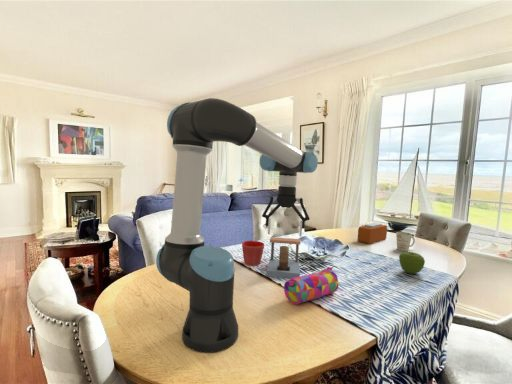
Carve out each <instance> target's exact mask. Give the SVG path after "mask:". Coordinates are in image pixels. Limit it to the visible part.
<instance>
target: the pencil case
mask: <svg viewBox="0 0 512 384" xmlns="http://www.w3.org/2000/svg"><path fill="white" fill-rule="evenodd" d="M332 270H333V267H331V266H330V267H329V266H327V267H326V268H324V269H321V270H319V271H317V272H315V273H310V274H305V275H300V277H294V278H292V279H290V278H289V279H287V281H285V282H284V284H283V291H284V295H285V297H286V299H287V300H288V301H289V302H290V303H291V304H293V305H296V306H297V305H300V304H302V303H305V302H306V303H307V302H309V301H313V300H316V299H319V298H321V297H325V296H327V295H328V296H329V295H331V294H333V293H335V292H337V291H338V290H339V280H338V276H337V274H336V272H335V271H332Z"/></svg>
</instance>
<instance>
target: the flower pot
mask: <svg viewBox="0 0 512 384" xmlns="http://www.w3.org/2000/svg"><path fill="white" fill-rule="evenodd" d="M241 248H242V256H243V261H244V264H245V265H247V266H250V267H251V266H259V265H260V264H261V262H262V258H263V253H264V248H265V243H264V242H262V241H259V240H245V241H243V242H242V243H241Z"/></svg>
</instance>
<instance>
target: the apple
mask: <svg viewBox="0 0 512 384" xmlns="http://www.w3.org/2000/svg"><path fill="white" fill-rule="evenodd" d="M398 260H399V264H400V267H401V269H402V270H403V272H405V273H406V274H410V275H415V274H417V273H420V272H421V271H422V270H423V268H424V266H425V262H426V260H425V258H424V256H422V255H421V254H419V253H416V252H412V251H403V252H402V253H400V254H399V256H398Z"/></svg>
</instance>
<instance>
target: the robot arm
mask: <svg viewBox="0 0 512 384" xmlns="http://www.w3.org/2000/svg"><path fill="white" fill-rule="evenodd" d="M166 129H167V132H168V134H169V135H170V137H171V139H172V148H173V149H174V150H175V152H176V163H175V174H174V177H175V178H174V187H173V188H174V189H173V202H172V214H171V225H170V226H171V227H170V233H169V234H168V235H167V236H165V238H164V244H162V245H161V248H160V249H159V250H158V251H157V254H156V258H155V263H156V264H155V265H156V268H157V271H158V272H159V274H160V275H161V276H162V277H163V278H165V280H167V281H168V282H170V283H174V284H175V285H177V286H179V287H181V288H182V289H184V290H187V291H188V293H189V309H188V312H187V315H186V318H185V321H184V323H183V326H182V335H181V336H182V337H181V339H182V342H183V344H184V345H185V346H186V347H187V348H188V349H190V350H192V351H195V352H199V353H205V354H206V353H208V354H209V353H216V352H220V351H224V350H227V349H228V348H230V347H231V346H233V345H234V344H235V343H236V342H237V340H238V338H239V323H238V321H237V320H238V319H237V318H236V317H237V316H236V314H235V310H234V307H233V306H234V288H235V287H234V285H235V282H234V281H235V271H236V270H235V259H234V256H233V254H232V253H231V252H230V251H228V250H227V249H225V248H222V247H220V246H213V245H205V238H204V237H203V235H201V227H202V214H203V201H204V191H205V178H206V168H207V167H206V165H207V157H208V155H209V154H210V153H211V152H212V151H213V145H214V143H215V142H225V143H226V142H227V143H230V144H233V145H234V146H235V145H236V146H238V147H243V146H245V147H247V148H249V149H252V150H253V151H255V152H257V153H259V154H261V155H260V158H259V166H260V168H261V169H262V170H263V171H266V172H267V171H268V172H278V173H279V175H278V185H279V186H278V188H277V193H278V194H277V196H273V195H272V196H270V197H269V198H270V199H269V203H268V204H267V205H266V208H265V209H264V211H263V213H262V215H261V217H262V218H264V219H265V226H266V227H267V234H268V235H270V234H271V222H272V218H271V216H272V215H273V214H275V212H276V211H277V210H279V208H280V207H281V208H283V209H284V208H287V209H288V208H290V209H291V208H292V209H293V210H294V212H295V213H296V214H297V216H298V217H299V218H300V221H299V233H298V234H299V237H302V234H303V233H302V232H303V230H304V229H305V228H306V227H305V226H306V221H309V220H310V217H309V214H308V211H307V210H306V207H305V204H304V199H303V197H300V198H298V197H296V195H297V187H296V186H297V182H298V181H297V179H298V173H300V174H301V173H302V174H307V173H308V174H309V173H311V174H312V173H315V171H316V170H317V168H318V165H319V164H318V163H319V159H318V155H317V154H316V152H313V151H303V150H301V149H300V148H298V147H296V146H295V145H293V144H292V143H290V142H289V141H287V140H285V138H283V137H281V136H279V135H277V134H276V133H274V132H273V131H271V130H269V129H268V128H267V127H265V126H263V125H262V124H260V123H258V122H257V120H256V117H255V116H254V115H253V114H251V113H250V112H249V111H247V110H245V109H243V108H241V107H240V106H238V105H235V104H233V103H231V102H229V101H227V100H223V99H220V98H215V97H214V98H213V97H212V98H211V97H209V98H205V99H202V100H196V101H191V102H189V101H188V102H184V103H182V104H180V105H177V106H176V107H174V108H173V109H172V110H171V111H170V113H169V115H168V116H167V122H166ZM275 201H277V203H278V204H277V205H276V206H274V208H273V209H272V210H271V211H270V212H269V210H270V208H271V206H272V204H273V203H274V202H275ZM296 202H297V203H298V204H300V207H301V210H302V211H303V214H304V215H303V214H302V213H301V212H300V210H299V209H298V207H297V206H296V205H295V203H296ZM268 212H269V213H268ZM304 216H305V217H304Z"/></svg>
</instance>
